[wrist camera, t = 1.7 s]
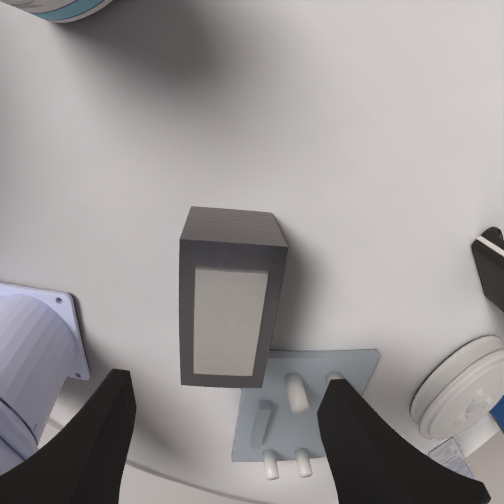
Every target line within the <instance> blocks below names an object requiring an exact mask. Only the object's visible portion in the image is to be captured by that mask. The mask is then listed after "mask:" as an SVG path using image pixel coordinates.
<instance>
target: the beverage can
mask: <svg viewBox="0 0 504 504" xmlns="http://www.w3.org/2000/svg"><path fill="white" fill-rule="evenodd" d="M0 1H1V2H4V3H6V4H9V5H11V6H14V7H16V8H19V9H21V10H24V11H26V12H29V13H31V14H33V15H36V16H38V17H40V18H42V19H45V20H47V21H50V22H56V23H65V22H71V21H75V20H79V19H82V18H84V17H87V16H89V15H91V14H93V13H95V12H97V11H98V10H100V9H102V8H103V7H105V6H106V5H108V4H109V3H110V2H111V1H113V0H0Z"/></svg>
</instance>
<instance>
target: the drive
mask: <svg viewBox="0 0 504 504" xmlns="http://www.w3.org/2000/svg"><path fill="white" fill-rule="evenodd" d="M287 251H288V245H287V243H286V241H285V239H284V237H283V235H282V233H281V231H280V229H279V227H278V225H277V223H276V221H275V219H274V217H273V215H272V213H269V212H258V211H246V210H234V209H221V208H207V207H193V206H191V209H190V211H189V214H188V217H187V220H186V223H185V226H184V228H183V231H182V234H181V237H180V252H179V339H180V370H181V385H189V386H204V387H224V388H262V385H263V380H264V376H265V371H266V366H267V361H268V356H269V350H270V345H271V340H272V335H273V330H274V324H275V319H276V314H277V308H278V303H279V297H280V292H281V286H282V280H283V275H284V269H285V263H286V257H287Z"/></svg>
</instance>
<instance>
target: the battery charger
mask: <svg viewBox="0 0 504 504" xmlns="http://www.w3.org/2000/svg"><path fill="white" fill-rule="evenodd" d="M472 249H473V252H474V256H475V260H476V263H477V267H478V270H479V274H480V277H481V281H482V285H483V289H484V292H485V296H486V297H487V298H488V299H489V300H490V301H492V302H493V303H494V304H495V305H496V306H497V307H498V308H500V309H501V310H502V311H503V312H504V240H503V236H502V233H501V230H500V229H498V228H497V227H491V228H489V229H487V230H486V231H484V232H483V233H482V234H481V235H479V236H478V237H477V238H476V239H475V241H474V242H473V244H472Z"/></svg>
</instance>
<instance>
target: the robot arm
mask: <svg viewBox="0 0 504 504" xmlns="http://www.w3.org/2000/svg"><path fill="white" fill-rule="evenodd" d="M58 298H60V299H61V300H62V301H60V300H59V299H58ZM66 377H70V378H75V379H80V380H86V381H87V380H89V379H90V371H89V368H88V364H87V360H86V357H85V353H84V349H83V344H82V340H81V336H80V331H79V327H78V322H77V317H76V312H75V307H74V302H73V298H72V296H71V295H70V294H68V293H65V292H58V291H51V290H44V289H37V288H31V287H25V286H19V285H13V284H7V283H1V282H0V504H118V502H119V491H120V484H121V478H122V474H123V470H124V465H125V462H126V458H127V453H128V449H129V445H130V441H131V437H132V433H133V429H134V421H135V414H136V402H135V397H134V392H133V387H132V381H131V376H130V371H127V370H120V369H112V370H111V371H110V372H109V374H108V375H107V377H106V378H105V379H104V381H103V382H102V383H101V385H100V386H99V387H98V389H97V390H96V391H95V392H94V394H93V395H92V396H91V397H90V399H89V400H88V401H87V402H86V403H85V405H84V406H83V407H82V408H81V409H80V411H79V412H78V413H77V414H76V415H75V416H74V417H73V418H72V419H71V420H70V422H69V423H68V424H67V425H66V426H65V427H64V428H63V429H62V430H61V431H60V432H59V433H58V434H57V435H56V436H55V437H54V438H52V440H50V441H49V442H48V443H47V444H46V445H44V446H43V447H42V448H41V449H38V447H37V446H38V443H39V441H40V438H41V436H42V433H43V431H44V428H45V425H46V423H47V421H48V418H49V416H50V413H51V411H52V409H53V406H54V404H55V402H56V399H57V397H58V395H59V393H60V390H61V388H62V386H63V384H64V382H65V379H66ZM317 418H318V425H319V431H320V436H321V440H322V443H323V446H324V449H325V453H326V456H327V459H328V462H329V465H330V469H331V472H332V475H333V478H334V481H335V485H336V489H337V495H338V500H339V504H487V503H489V502H490V500H491V497H490V495H489V493H488V491H487V489H486V488H485V485H484V484H483V483H482V482H480V481H477V480H474V479H471V478H469V477H466V476H463V475H461V474H459V473H457V472H455V471H452V470H450V469H448V468H446V467H445V466H443V465H441V464H439V463H437V462H436V461H434V460H433V459H431V458H429V457H428V456H426V455H425V454H423V453H422V452H420V451H419V450H418V449H416V448H415V447H414V446H412V445H411V444H410V443H408V442H407V441H406V440H405V439H403V438H402V437H401V436H400V435H399V434H398V433H397V432H396V431H394V430H393V429H392V428H391V427H390V426H389V425H388V424H387V423H386V422H385V421H384V420H383V419H382V418H381V417H380V416H379V415H378V414H377V413H376V412H375V411H374V410H373V409H372V408H371V406H370V405H369V404H368V403H367V402H366V401H365V400H364V399H363V398H362V397H361V395H360V394H359V393H358V392H357V391H356V390H355V389H354V388H353V386H352V385H351V384H350V383H349V382H348V381H347V380H346V379H331V380H330V382H329V385H328V387H327V390H326V392H325V394H324V397H323V399H322V402H321V404H320V406H319V409H318V411H317Z"/></svg>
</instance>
